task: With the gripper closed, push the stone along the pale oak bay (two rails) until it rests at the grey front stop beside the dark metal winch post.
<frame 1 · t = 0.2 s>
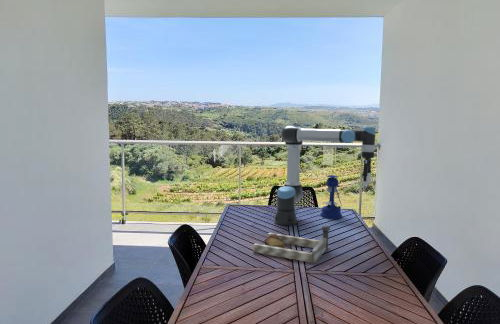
hand: (366, 184, 232), 28 cm above the table, fingers open, 13 cm apart
stone: (274, 248, 197), on the table
lantern: (331, 216, 261), on the table
bay: (289, 250, 193), on the table
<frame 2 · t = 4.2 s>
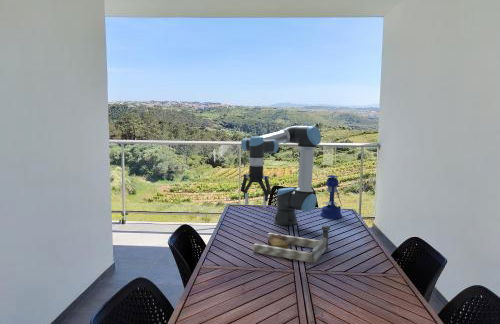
hand: (255, 205, 199), 22 cm above the table, fingers open, 10 cm apart
stone: (277, 248, 197), on the table
everything else where it was.
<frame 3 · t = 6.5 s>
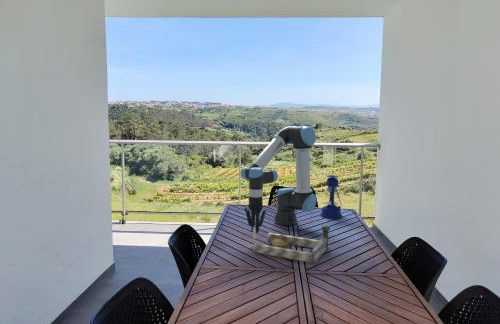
hand: (255, 238, 201), 3 cm above the table, fingers closed
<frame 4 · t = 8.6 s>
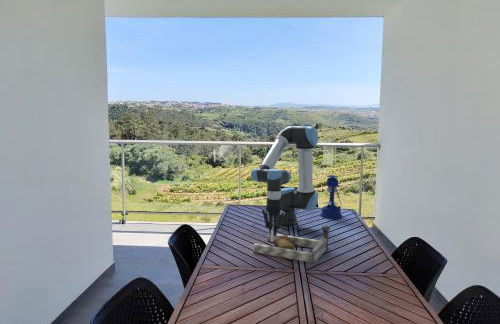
hand: (272, 241, 196), 4 cm above the table, fingers closed
stone: (283, 249, 195), on the table
everything else where it was.
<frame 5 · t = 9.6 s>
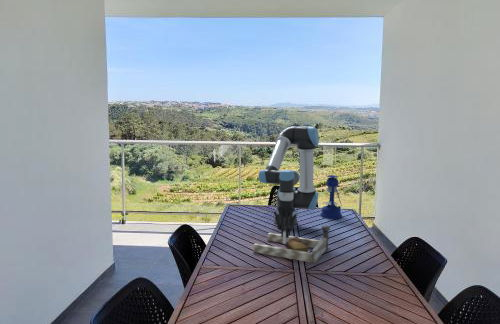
hand: (284, 243, 193), 4 cm above the table, fingers closed
stone: (296, 251, 192), on the table, touching gripper
everything else where it was.
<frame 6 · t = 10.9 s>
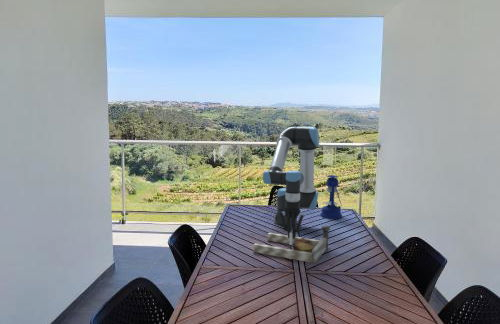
hand: (291, 244, 192), 3 cm above the table, fingers closed
stone: (302, 252, 191), on the table
everything else where it was.
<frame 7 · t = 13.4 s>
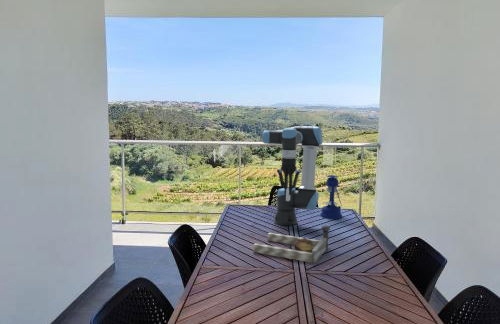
hand: (288, 200, 198), 25 cm above the table, fingers closed
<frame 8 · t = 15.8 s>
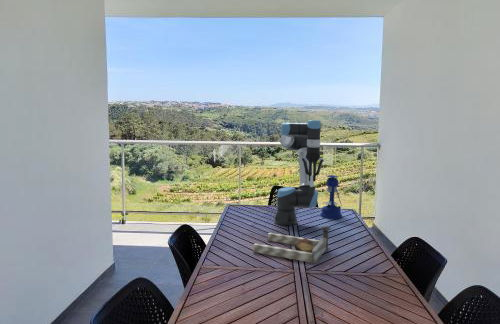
hand: (311, 186, 215), 29 cm above the table, fingers closed
at the end: stone inside the target area (0.9 cm from its centre), on the table; stone moved 17.4 cm from its start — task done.
